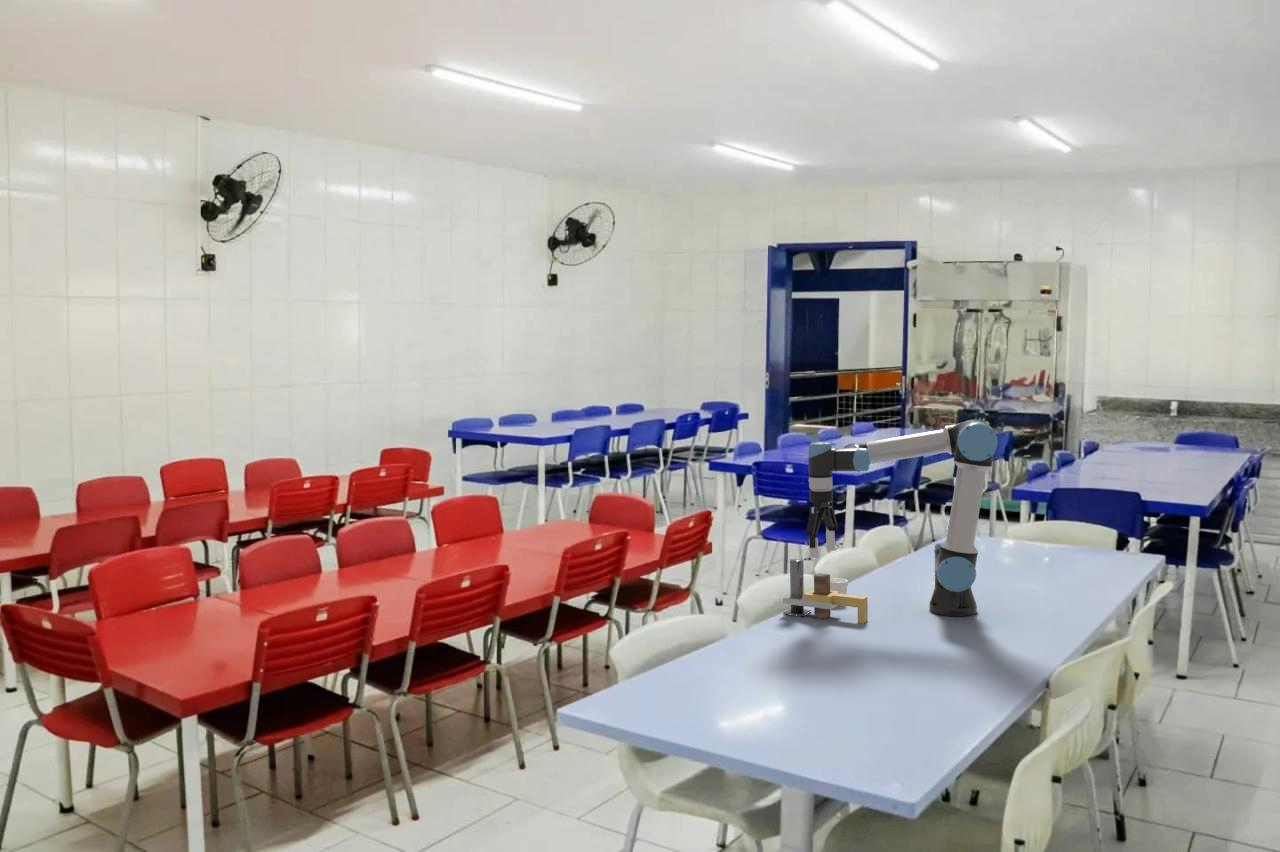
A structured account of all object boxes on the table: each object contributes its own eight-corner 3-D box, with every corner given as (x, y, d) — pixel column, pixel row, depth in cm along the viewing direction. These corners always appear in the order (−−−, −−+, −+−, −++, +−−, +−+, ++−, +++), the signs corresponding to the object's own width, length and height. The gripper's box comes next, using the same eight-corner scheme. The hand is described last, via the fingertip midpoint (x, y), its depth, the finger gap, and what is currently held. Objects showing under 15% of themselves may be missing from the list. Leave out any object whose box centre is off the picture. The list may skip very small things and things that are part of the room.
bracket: (870, 619, 343) (870, 594, 343) (860, 625, 336) (860, 600, 335) (815, 612, 354) (815, 588, 353) (804, 618, 346) (803, 594, 346)
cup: (847, 606, 361) (846, 583, 360) (817, 604, 364) (817, 581, 363) (849, 601, 367) (849, 578, 367) (820, 599, 371) (820, 577, 370)
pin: (819, 614, 351) (818, 573, 349) (830, 616, 348) (830, 574, 347) (814, 617, 347) (813, 575, 346) (825, 618, 345) (825, 576, 344)
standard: (841, 615, 349) (841, 561, 347) (831, 621, 341) (830, 566, 340) (793, 609, 358) (792, 556, 357) (781, 615, 351) (781, 561, 349)
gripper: (825, 484, 357) (827, 546, 359) (794, 494, 336) (795, 560, 338) (846, 485, 353) (847, 547, 354) (815, 495, 332) (817, 561, 334)
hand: (822, 554), depth 346 cm, fingers open, 13 cm apart
